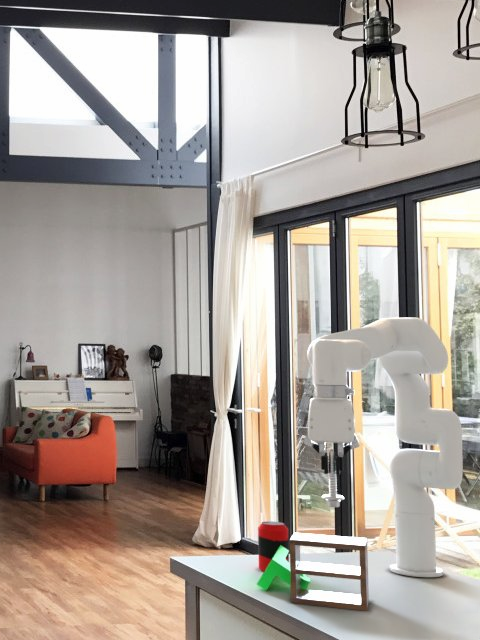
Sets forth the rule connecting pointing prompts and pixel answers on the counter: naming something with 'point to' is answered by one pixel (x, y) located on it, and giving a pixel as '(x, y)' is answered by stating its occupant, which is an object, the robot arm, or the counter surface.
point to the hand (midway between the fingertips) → (332, 473)
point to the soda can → (271, 541)
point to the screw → (332, 483)
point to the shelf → (328, 572)
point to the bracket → (280, 570)
